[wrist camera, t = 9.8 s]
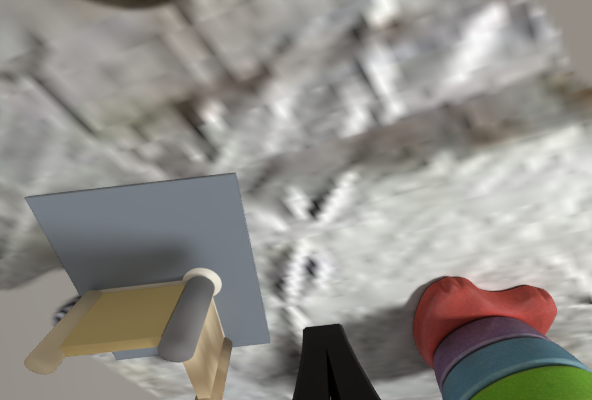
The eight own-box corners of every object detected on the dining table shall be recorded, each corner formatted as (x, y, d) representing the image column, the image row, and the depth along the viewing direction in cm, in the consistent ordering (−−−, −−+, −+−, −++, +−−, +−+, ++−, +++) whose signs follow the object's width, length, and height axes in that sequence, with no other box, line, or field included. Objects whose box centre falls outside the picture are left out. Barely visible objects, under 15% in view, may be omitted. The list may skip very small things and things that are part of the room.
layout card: (270, 339, 23) (270, 343, 23) (118, 356, 23) (116, 360, 23) (235, 172, 17) (234, 174, 17) (28, 196, 17) (24, 198, 17)
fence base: (234, 350, 23) (221, 424, 18) (213, 352, 23) (194, 427, 18) (218, 295, 21) (198, 364, 16) (194, 298, 21) (167, 367, 16)
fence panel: (211, 274, 19) (189, 336, 15) (217, 296, 20) (198, 360, 16) (79, 289, 19) (16, 354, 15) (90, 310, 20) (34, 378, 16)
